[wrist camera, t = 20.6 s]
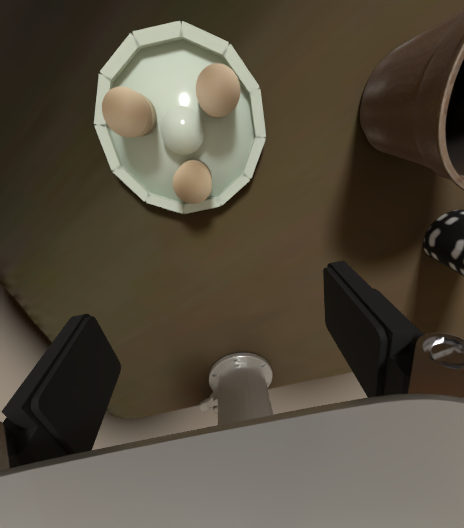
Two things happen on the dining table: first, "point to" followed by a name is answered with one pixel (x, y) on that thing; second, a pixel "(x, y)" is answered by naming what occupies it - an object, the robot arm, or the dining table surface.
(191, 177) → the brown egg
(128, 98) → the tan egg
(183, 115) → the pale green faceted plate
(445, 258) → the white-spotted black cylinder
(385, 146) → the plant pot
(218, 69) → the bead
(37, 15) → the dining table surface
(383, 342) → the robot arm
